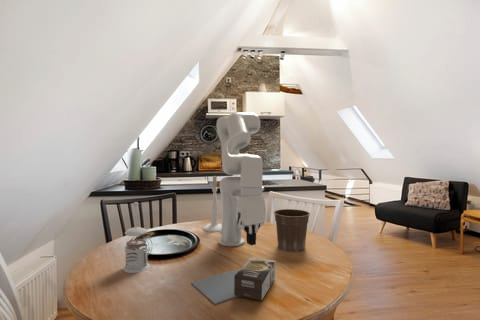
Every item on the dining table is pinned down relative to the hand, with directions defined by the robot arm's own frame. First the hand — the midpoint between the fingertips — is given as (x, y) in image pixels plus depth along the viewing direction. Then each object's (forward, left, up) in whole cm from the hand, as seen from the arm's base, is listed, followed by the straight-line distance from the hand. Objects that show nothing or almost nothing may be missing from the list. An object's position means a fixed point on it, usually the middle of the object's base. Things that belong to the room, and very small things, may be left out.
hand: (251, 243), depth 102 cm
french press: (-31, -30, -12) cm, 45 cm away
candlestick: (-61, +20, -12) cm, 65 cm away
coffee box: (+2, +4, -8) cm, 9 cm away
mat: (0, -10, -12) cm, 16 cm away
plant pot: (-15, +34, -12) cm, 39 cm away
